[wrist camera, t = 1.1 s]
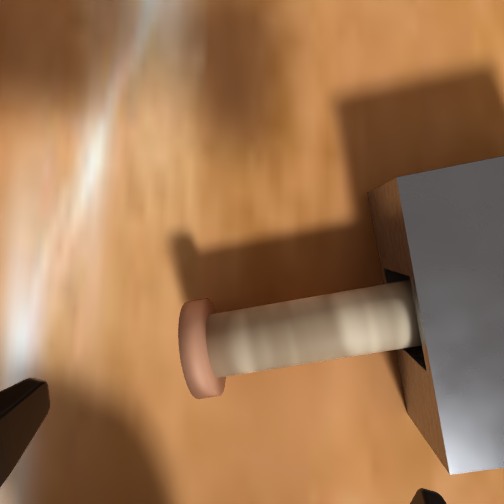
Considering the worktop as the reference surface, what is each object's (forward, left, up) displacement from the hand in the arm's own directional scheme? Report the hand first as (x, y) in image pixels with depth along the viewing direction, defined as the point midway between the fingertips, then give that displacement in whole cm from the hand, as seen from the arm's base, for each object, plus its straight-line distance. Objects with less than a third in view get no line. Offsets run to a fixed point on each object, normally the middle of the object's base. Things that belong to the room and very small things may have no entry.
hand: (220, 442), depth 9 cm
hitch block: (+11, 0, -12) cm, 16 cm away
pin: (+4, 0, -12) cm, 13 cm away
